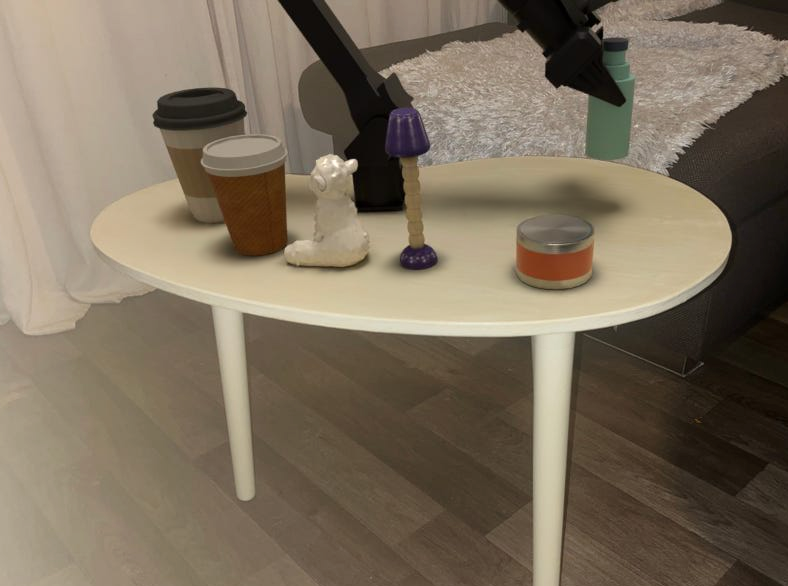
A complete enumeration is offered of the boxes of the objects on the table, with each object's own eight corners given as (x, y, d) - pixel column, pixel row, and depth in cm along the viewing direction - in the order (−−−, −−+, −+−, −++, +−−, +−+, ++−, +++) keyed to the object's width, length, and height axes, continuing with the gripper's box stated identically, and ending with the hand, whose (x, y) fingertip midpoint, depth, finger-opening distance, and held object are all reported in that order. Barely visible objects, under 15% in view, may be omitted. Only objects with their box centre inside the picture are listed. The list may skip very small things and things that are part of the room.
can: (518, 290, 78) (518, 245, 75) (514, 257, 85) (514, 215, 82) (596, 288, 77) (600, 243, 75) (586, 255, 84) (589, 212, 81)
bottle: (581, 158, 91) (587, 43, 84) (589, 146, 95) (596, 35, 88) (624, 161, 90) (635, 44, 83) (631, 148, 94) (641, 36, 87)
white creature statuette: (341, 235, 92) (328, 136, 86) (394, 250, 88) (385, 147, 81) (282, 263, 86) (264, 159, 79) (336, 281, 81) (322, 172, 75)
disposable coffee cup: (220, 235, 94) (199, 138, 87) (298, 225, 95) (283, 129, 89) (220, 266, 86) (196, 162, 79) (304, 255, 87) (288, 152, 81)
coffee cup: (261, 193, 106) (241, 81, 98) (267, 222, 97) (246, 101, 89) (177, 204, 104) (149, 91, 96) (175, 234, 94) (144, 112, 86)
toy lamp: (431, 272, 82) (422, 116, 73) (390, 270, 83) (376, 116, 74) (440, 254, 86) (433, 104, 77) (401, 252, 87) (389, 103, 78)
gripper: (583, -57, 73) (686, 63, 77) (586, -70, 88) (672, 31, 92) (501, 32, 78) (602, 139, 82) (518, 5, 94) (602, 97, 98)
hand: (622, 98), depth 89 cm, fingers closed on bottle, 5 cm apart
